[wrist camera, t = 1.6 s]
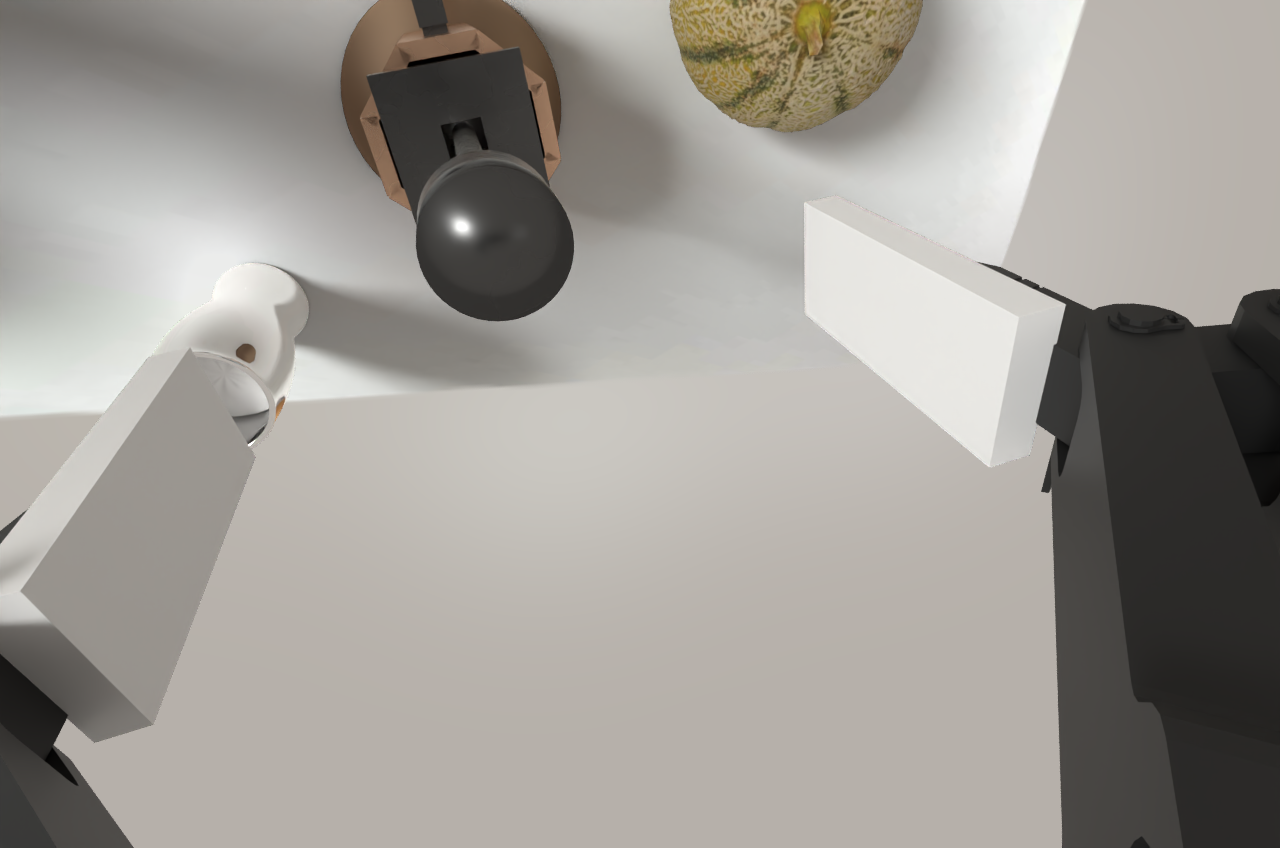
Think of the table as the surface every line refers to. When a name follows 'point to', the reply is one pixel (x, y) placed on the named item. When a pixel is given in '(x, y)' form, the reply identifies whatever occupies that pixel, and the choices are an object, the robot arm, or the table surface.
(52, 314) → the table surface
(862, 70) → the cantaloupe
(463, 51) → the carafe
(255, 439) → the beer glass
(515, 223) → the plunger
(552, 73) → the coaster
